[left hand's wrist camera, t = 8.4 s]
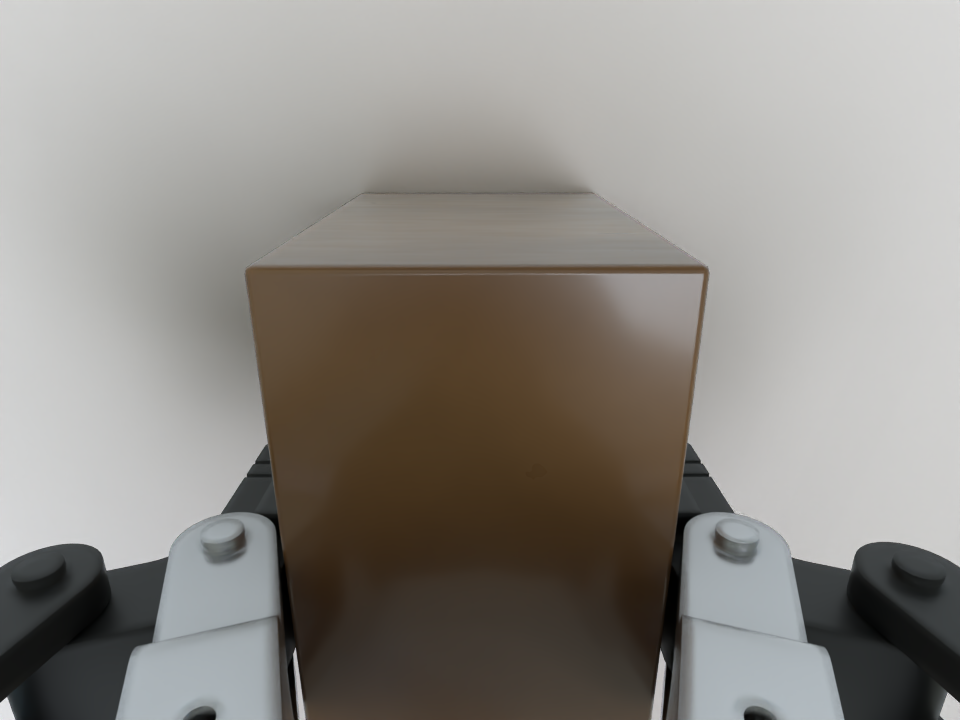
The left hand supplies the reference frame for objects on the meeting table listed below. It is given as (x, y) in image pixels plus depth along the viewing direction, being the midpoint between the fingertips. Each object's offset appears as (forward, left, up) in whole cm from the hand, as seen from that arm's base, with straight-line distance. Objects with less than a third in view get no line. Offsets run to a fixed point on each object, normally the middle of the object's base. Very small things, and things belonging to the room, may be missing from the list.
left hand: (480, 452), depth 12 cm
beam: (+23, +5, -2) cm, 24 cm away
